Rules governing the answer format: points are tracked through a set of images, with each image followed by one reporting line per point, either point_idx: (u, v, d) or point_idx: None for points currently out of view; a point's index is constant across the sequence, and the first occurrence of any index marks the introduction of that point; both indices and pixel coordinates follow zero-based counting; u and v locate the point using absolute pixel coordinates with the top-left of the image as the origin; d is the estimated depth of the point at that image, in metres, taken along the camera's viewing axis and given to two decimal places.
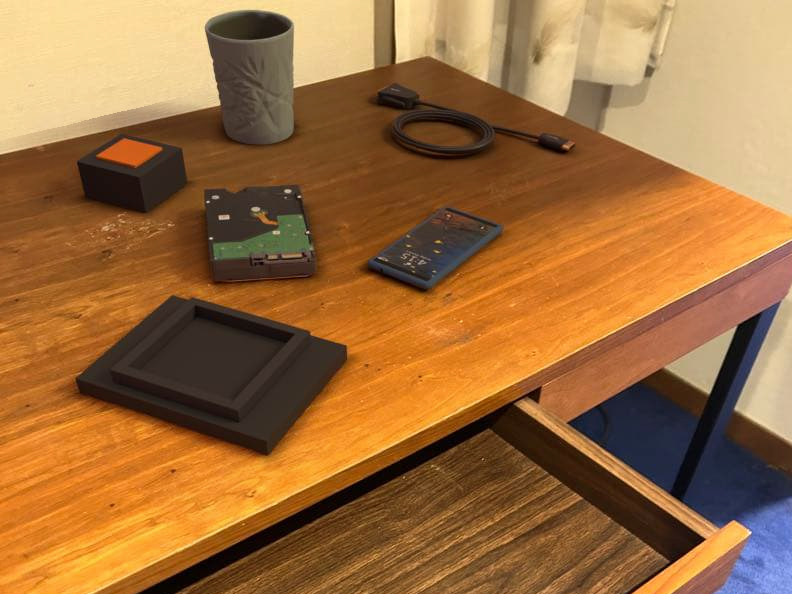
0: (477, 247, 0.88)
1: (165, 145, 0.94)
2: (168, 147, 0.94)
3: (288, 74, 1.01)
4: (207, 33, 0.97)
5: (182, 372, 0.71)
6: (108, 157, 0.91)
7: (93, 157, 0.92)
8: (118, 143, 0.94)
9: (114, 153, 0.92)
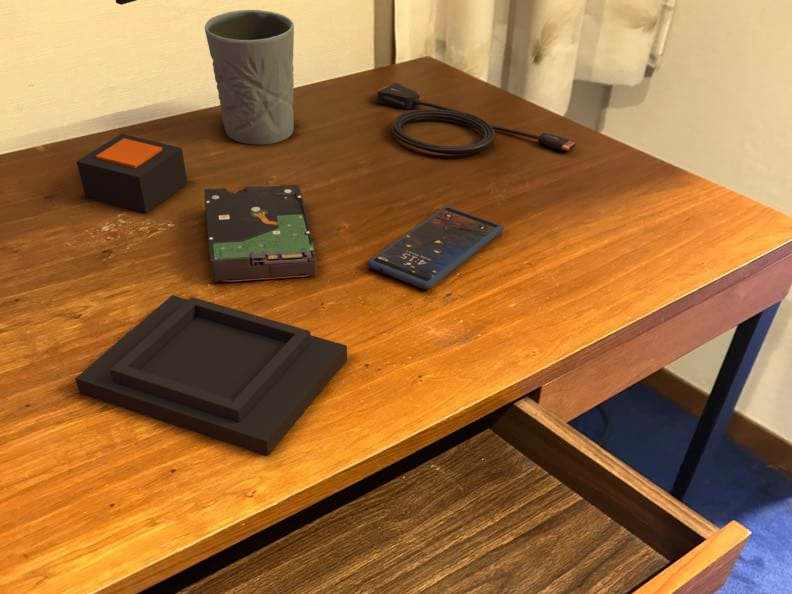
0: (477, 247, 0.88)
1: (165, 145, 0.94)
2: (168, 147, 0.94)
3: (288, 74, 1.01)
4: (207, 33, 0.97)
5: (182, 372, 0.71)
6: (108, 157, 0.91)
7: (93, 157, 0.92)
8: (118, 143, 0.94)
9: (114, 153, 0.92)
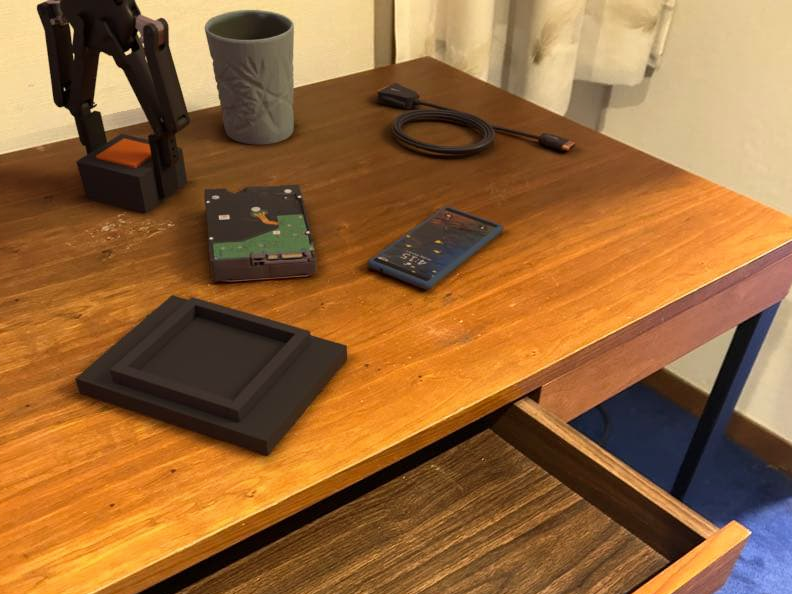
0: (477, 247, 0.88)
1: None
2: None
3: (288, 74, 1.01)
4: (207, 33, 0.97)
5: (182, 372, 0.71)
6: (108, 157, 0.91)
7: (93, 157, 0.92)
8: (118, 143, 0.94)
9: (114, 153, 0.92)
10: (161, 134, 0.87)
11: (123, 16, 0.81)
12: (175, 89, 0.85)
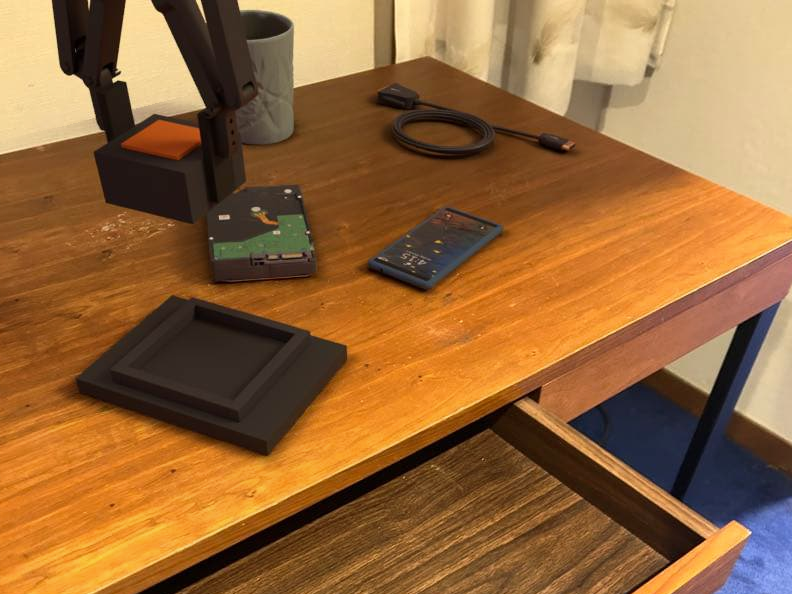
0: (477, 247, 0.88)
1: None
2: None
3: (288, 74, 1.01)
4: None
5: (182, 372, 0.71)
6: (138, 146, 0.64)
7: (116, 145, 0.65)
8: (151, 126, 0.66)
9: (147, 140, 0.65)
10: (217, 110, 0.60)
11: None
12: (240, 43, 0.58)
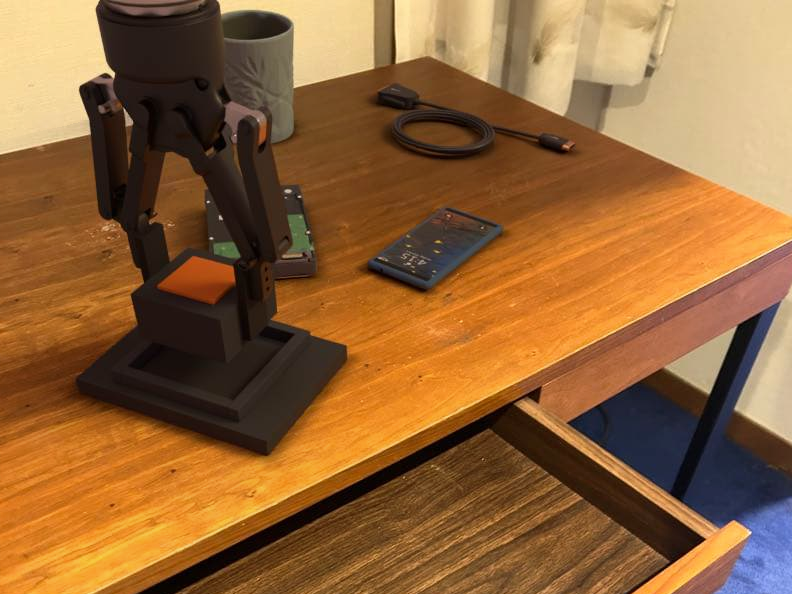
0: (477, 247, 0.88)
1: None
2: None
3: (288, 74, 1.01)
4: None
5: (182, 372, 0.71)
6: (174, 289, 0.65)
7: (153, 286, 0.66)
8: (186, 264, 0.68)
9: (183, 281, 0.66)
10: (253, 263, 0.62)
11: (208, 105, 0.55)
12: (277, 203, 0.59)
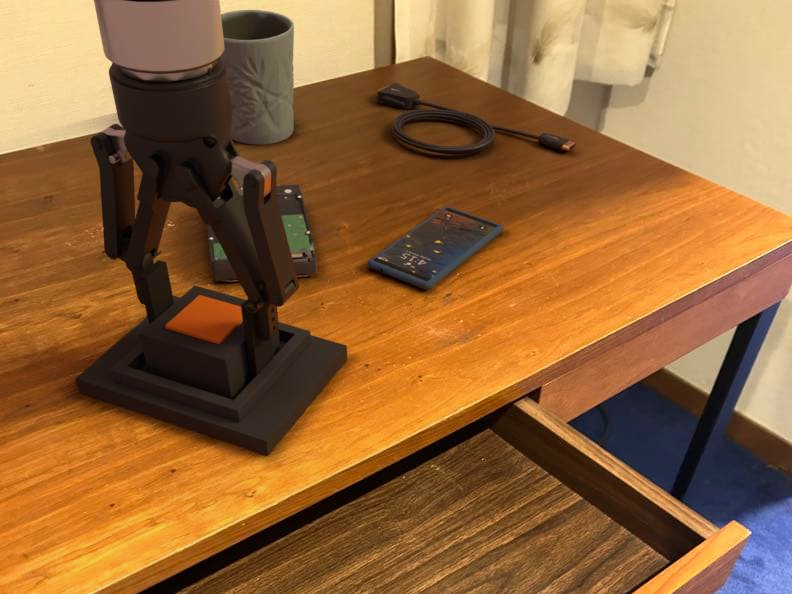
0: (477, 247, 0.88)
1: None
2: None
3: (288, 74, 1.01)
4: None
5: None
6: (181, 328, 0.68)
7: (161, 326, 0.69)
8: (193, 303, 0.70)
9: (189, 320, 0.69)
10: (261, 306, 0.64)
11: (215, 161, 0.57)
12: (283, 249, 0.62)
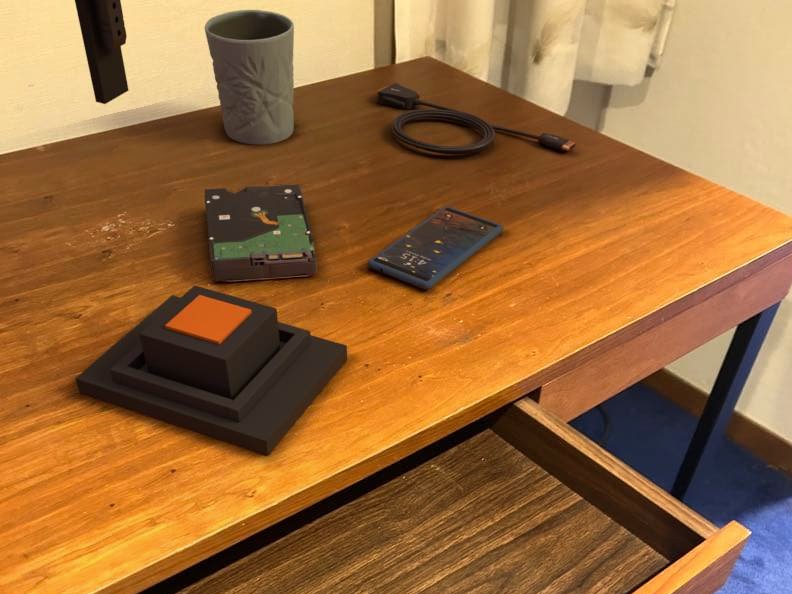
0: (477, 247, 0.88)
1: (254, 304, 0.71)
2: (259, 308, 0.71)
3: (288, 74, 1.01)
4: (207, 33, 0.97)
5: None
6: (181, 328, 0.68)
7: (161, 326, 0.69)
8: (193, 303, 0.70)
9: (189, 320, 0.69)
10: None
11: None
12: None
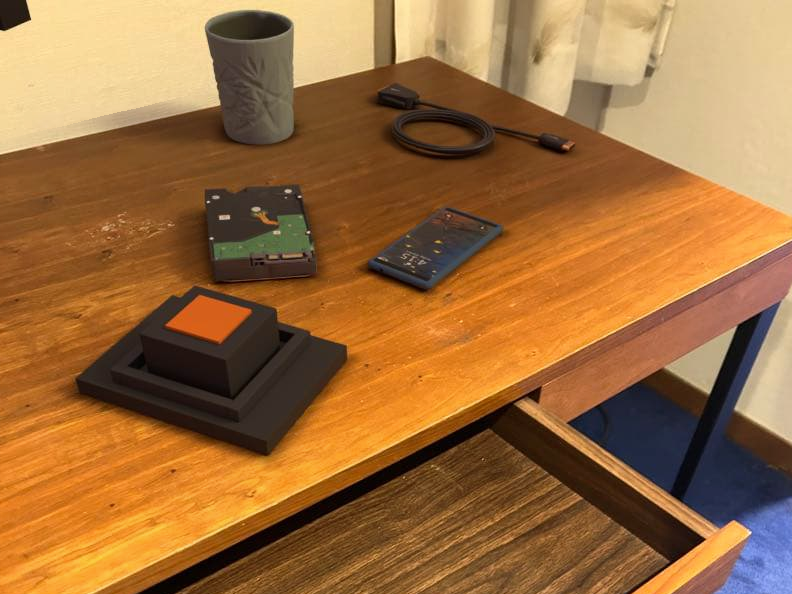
0: (477, 247, 0.88)
1: (254, 304, 0.71)
2: (259, 308, 0.71)
3: (288, 74, 1.01)
4: (207, 33, 0.97)
5: None
6: (181, 328, 0.68)
7: (161, 326, 0.69)
8: (193, 303, 0.70)
9: (189, 320, 0.69)
10: None
11: None
12: None
